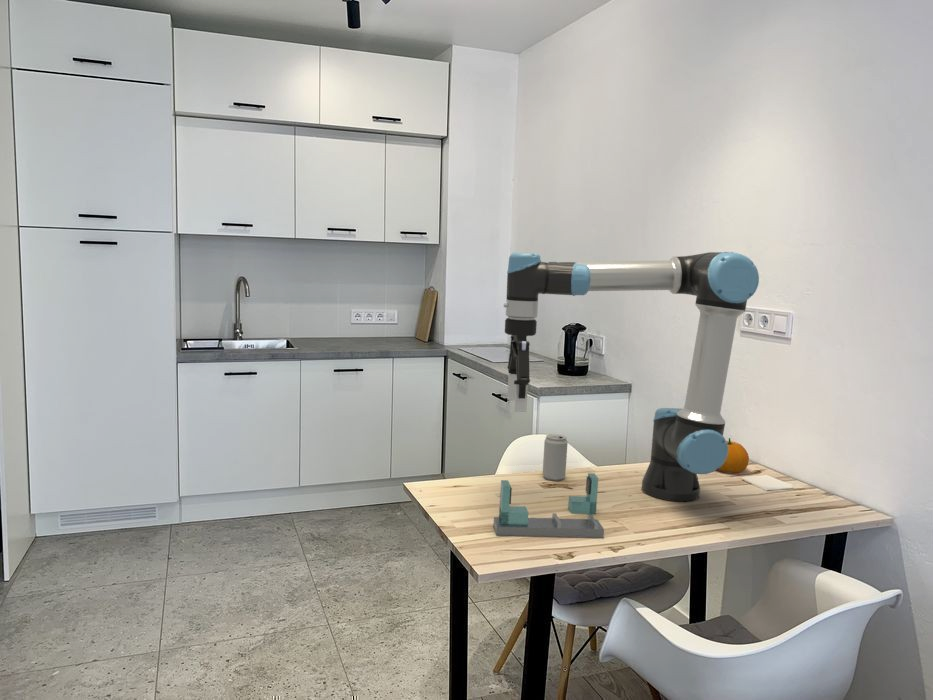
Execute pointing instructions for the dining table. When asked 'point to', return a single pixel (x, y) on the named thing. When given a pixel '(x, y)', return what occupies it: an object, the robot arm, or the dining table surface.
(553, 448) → the beverage can
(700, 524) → the dining table surface
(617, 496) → the dining table surface
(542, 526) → the rail
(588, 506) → the teal block
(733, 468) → the fruit
